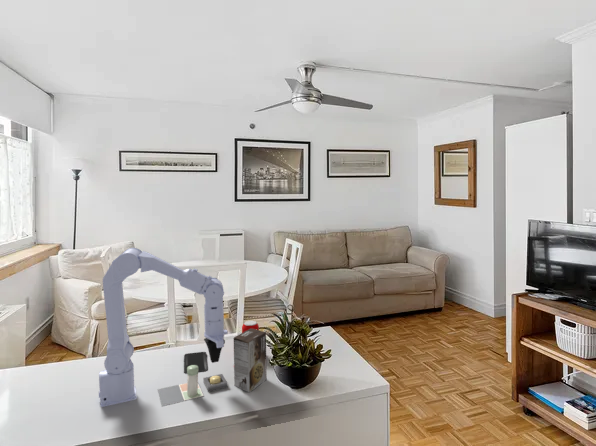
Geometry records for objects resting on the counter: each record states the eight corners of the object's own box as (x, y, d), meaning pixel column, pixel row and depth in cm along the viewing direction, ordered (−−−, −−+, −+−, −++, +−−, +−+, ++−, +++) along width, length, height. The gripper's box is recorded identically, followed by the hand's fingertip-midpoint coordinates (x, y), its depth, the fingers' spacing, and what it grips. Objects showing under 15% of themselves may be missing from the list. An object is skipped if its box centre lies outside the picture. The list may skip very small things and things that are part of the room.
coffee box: (251, 374, 128) (250, 327, 126) (267, 379, 125) (267, 331, 123) (233, 387, 120) (232, 337, 119) (249, 392, 117) (249, 341, 115)
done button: (211, 389, 118) (211, 381, 118) (209, 384, 121) (208, 376, 121) (221, 387, 120) (221, 379, 120) (219, 382, 123) (218, 374, 122)
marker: (188, 397, 113) (188, 371, 112) (185, 392, 116) (185, 366, 115) (199, 395, 114) (199, 368, 113) (196, 389, 117) (196, 364, 116)
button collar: (208, 393, 117) (207, 387, 116) (203, 383, 122) (203, 377, 122) (227, 388, 119) (227, 382, 119) (222, 379, 125) (222, 373, 124)
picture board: (161, 408, 109) (161, 406, 109) (157, 390, 118) (157, 389, 118) (204, 397, 114) (204, 395, 114) (197, 382, 123) (197, 380, 123)
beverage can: (238, 354, 143) (238, 323, 142) (251, 348, 148) (250, 318, 146) (250, 359, 139) (249, 327, 138) (262, 353, 144) (262, 322, 142)
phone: (206, 351, 144) (207, 370, 129) (206, 354, 144) (207, 373, 129) (184, 353, 142) (183, 373, 127) (184, 356, 142) (183, 376, 127)
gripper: (233, 324, 114) (234, 368, 115) (220, 309, 126) (221, 349, 128) (209, 328, 110) (210, 373, 112) (199, 312, 123) (199, 353, 125)
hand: (214, 361), depth 120 cm, fingers closed
